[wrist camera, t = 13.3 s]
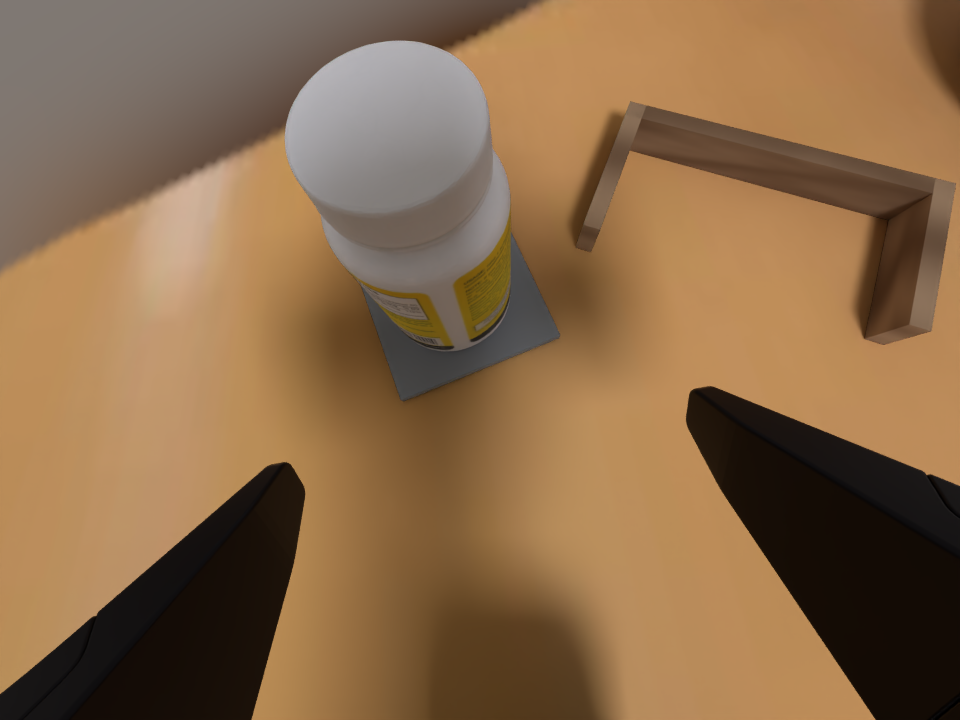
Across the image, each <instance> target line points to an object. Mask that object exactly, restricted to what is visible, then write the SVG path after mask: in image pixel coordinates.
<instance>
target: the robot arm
mask: <svg viewBox="0 0 960 720" xmlns="http://www.w3.org/2000/svg"><path fill="white" fill-rule="evenodd" d="M686 423H687V427H688V429H689V431H690V433H691V435H692V437H693V439H694V441H695V442H696V444H697V446H698V448H699V450H700V452H701V454H702V456H703V458H704V460H705V461H706V463H707V465H708V467H709V469H710V471H711V473H712V475H713V477H714V478H715V480H716V482H717V484H718V486H719V487H720V489H721V491H722V492H723V494H724V495H725V497H726V499H727V500H728V502H729V503H730V505H731V506H732V508H733V509H734V510H735V512H736V513H737V515H738V516H739V518H740V519H741V521H742V522H743V524H744V525H745V527H746V528H747V530H748V531H749V533H750V534H751V536H752V537H753V539H754V540H755V542H756V543H757V545H758V546H759V548H760V549H761V551H762V552H763V553H764V555H765V556H766V558H767V559H768V561H769V562H770V564H771V565H772V567H773V568H774V570H775V571H776V573H777V574H778V576H779V577H780V579H781V580H782V582H783V583H784V585H785V586H786V588H787V589H788V591H789V592H790V593H791V595H792V596H793V598H794V599H795V601H796V602H797V604H798V605H799V607H800V608H801V610H802V611H803V613H804V614H805V616H806V617H807V619H808V620H809V622H810V623H811V625H812V626H813V628H814V629H815V631H816V632H817V634H818V635H819V636H820V638H821V639H822V641H823V642H824V644H825V645H826V647H827V648H828V650H829V651H830V653H831V654H832V656H833V657H834V659H835V660H836V662H837V663H838V665H839V666H840V668H841V669H842V671H843V672H844V674H845V675H846V677H847V678H848V679H849V681H850V682H851V684H852V685H853V687H854V688H855V690H856V691H857V693H858V694H859V696H860V697H861V699H862V700H863V702H864V703H865V705H866V706H867V708H868V709H869V711H870V712H871V714H872V715H873V717H874V718H875V720H960V486H958V485H956V484H954V483H951V482H949V481H946V480H944V479H941V478H939V477H936V476H934V475H931V474H929V475H926V474H925V472H923V471H921V470H919V469H916V468H914V467H911V466H909V465H906V464H904V463H901V462H899V461H896V460H894V459H891V458H889V457H886V456H884V455H881V454H879V453H876V452H874V451H872V450H869V449H867V448H864V447H862V446H859V445H857V444H854V443H852V442H849V441H847V440H844V439H842V438H839V437H837V436H834V435H832V434H829V433H827V432H824V431H822V430H819V429H817V428H815V427H812V426H810V425H807V424H805V423H802V422H800V421H797V420H795V419H792V418H790V417H787V416H785V415H782V414H780V413H777V412H775V411H772V410H770V409H767V408H765V407H762V406H760V405H757V404H755V403H753V402H750V401H748V400H745V399H743V398H740V397H738V396H735V395H733V394H730V393H728V392H725V391H723V390H720V389H718V388H715V387H712V386H707V387H701V388H696V389H693V390H692V391H691V392H690V394H689V400H688V407H687V414H686ZM304 500H305V489H304V486H303V484H302V482H301V480H300V479H299V477H298V475H297V474H296V472H295V470H294V469H293V467H292V466H291V464H289V463H287V462H282V463H277V464H271V465H269V466H267V467H266V468H264V469H263V470H262V471H261V472H260V473H259V474H258V475H256V476H255V477H254V478H253V479H252V480H251V481H249V482H248V483H247V484H246V485H245V486H244V487H242V488H241V489H240V490H239V491H238V492H237V493H235V494H234V495H233V496H232V497H231V498H230V499H229V500H227V501H226V502H225V503H224V504H223V505H222V506H220V507H219V508H218V509H217V510H216V511H215V512H213V513H212V514H211V515H210V516H209V517H208V518H207V519H205V520H204V521H203V522H202V523H201V524H200V525H198V526H197V527H196V528H195V529H194V530H193V531H191V532H190V533H189V534H188V535H187V536H186V537H185V538H183V539H182V540H181V541H180V542H179V543H178V544H176V545H175V546H174V547H173V548H172V549H171V550H169V551H168V552H167V553H166V554H165V555H164V556H162V557H161V558H160V559H159V560H158V561H157V562H156V563H154V564H153V565H152V566H151V567H150V568H149V569H147V570H146V571H145V572H144V573H143V574H142V575H140V576H139V577H138V578H137V579H136V580H135V581H134V582H132V583H131V584H130V585H129V586H128V587H127V588H125V589H124V590H123V591H122V592H121V593H120V594H118V595H117V596H116V597H115V598H114V599H113V600H111V601H110V602H109V603H108V604H107V605H106V606H105V607H103V608H102V609H101V610H100V611H99V612H98V613H97V616H93V617H92V618H90V619H89V620H88V621H87V622H86V623H85V624H84V625H82V626H81V627H80V628H79V629H78V630H77V631H76V632H74V633H73V634H72V635H71V636H70V637H69V638H67V639H66V640H65V641H64V642H63V643H61V644H60V645H59V646H58V647H57V648H56V649H54V650H53V651H52V652H51V653H50V654H48V655H47V656H46V657H45V658H44V659H43V660H41V661H40V662H39V663H38V664H37V665H35V666H34V667H33V668H32V669H31V670H30V671H28V672H27V673H26V674H25V675H23V676H22V677H21V678H20V679H18V680H17V681H16V682H15V683H13V684H12V685H11V686H10V687H9V688H7V689H6V690H5V691H4V692H2V693H1V694H0V720H251V719H252V715H253V712H254V708H255V704H256V701H257V697H258V693H259V690H260V686H261V682H262V679H263V675H264V671H265V668H266V664H267V660H268V657H269V653H270V649H271V646H272V642H273V638H274V635H275V631H276V627H277V624H278V620H279V616H280V613H281V609H282V605H283V602H284V598H285V594H286V591H287V587H288V583H289V580H290V576H291V572H292V568H293V564H294V560H295V554H296V549H297V543H298V537H299V531H300V525H301V519H302V513H303V507H304Z"/></svg>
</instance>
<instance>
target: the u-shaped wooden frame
mask: <svg viewBox="0 0 960 720" xmlns="http://www.w3.org/2000/svg"><path fill="white" fill-rule="evenodd" d="M630 150H631V151H635V152H638V153H642V154H646V155H650V156H653V157H657V158H661V159H664V160H668V161H672V162H675V163H679V164H683V165H686V166H690V167H694V168H697V169H701V170H705V171H709V172H712V173H716V174H720V175H723V176H727V177H731V178H734V179H738V180H742V181H745V182H749V183H753V184H757V185H760V186H764V187H768V188H771V189H775V190H779V191H782V192H786V193H790V194H793V195H797V196H801V197H804V198H808V199H812V200H816V201H819V202H823V203H827V204H830V205H834V206H838V207H841V208H845V209H849V210H852V211H856V212H860V213H863V214H867V215H871V216H875V217H878V218H882V219H886V220H889V221H888V226H887V231H886V236H885V241H884V246H883V251H882V256H881V261H880V266H879V271H878V275H877V280H876V285H875V290H874V295H873V300H872V305H871V310H870V315H869V320H868V325H867V330H866V335H865V339H867V340H870V341H873V342H876V343H879V344H883V345H885V344H889V343H892V342H896V341H899V340H903V339H906V338H910V337H913V336H917V335H920V334H924V333H927V332H931V330H932V324H933V318H934V312H935V306H936V300H937V294H938V288H939V282H940V276H941V270H942V264H943V258H944V252H945V246H946V240H947V234H948V228H949V222H950V216H951V210H952V204H953V198H954V192H955V186H956V183H952V182H948V181H944V180H941V179H937V178H933V177H929V176H925V175H921V174H917V173H913V172H909V171H905V170H901V169H897V168H893V167H889V166H885V165H881V164H877V163H873V162H869V161H865V160H861V159H857V158H853V157H849V156H845V155H841V154H837V153H833V152H829V151H825V150H821V149H817V148H813V147H809V146H805V145H801V144H797V143H793V142H789V141H786V140H782V139H778V138H774V137H770V136H766V135H762V134H758V133H754V132H750V131H746V130H742V129H738V128H734V127H730V126H726V125H722V124H718V123H714V122H710V121H706V120H702V119H698V118H694V117H690V116H686V115H682V114H678V113H674V112H670V111H666V110H662V109H658V108H654V107H650V106H646V105H642V104H638V103H634V102H631V101H630V103H629V106H628V109H627V111H626V114H625V117H624V119H623V122H622V124H621V127H620V130H619V132H618V135H617V137H616V140H615V143H614V145H613V148H612V150H611V153H610V156H609V158H608V161H607V163H606V166H605V169H604V171H603V174H602V176H601V179H600V182H599V184H598V187H597V190H596V192H595V195H594V197H593V200H592V203H591V205H590V208H589V210H588V213H587V216H586V218H585V221H584V223H583V226H582V229H581V232H580V235H579V238H578V241H577V244H576V248H579V249H583V250H586V251H589V252H591V251H592V248H593V246H594V243H595V241H596V239H597V236H598V234H599V231H600V229H601V226H602V223H603V221H604V218H605V215H606V213H607V210H608V207H609V205H610V202H611V199H612V197H613V194H614V191H615V189H616V186H617V183H618V180H619V178H620V175H621V172H622V170H623V167H624V164H625V162H626V159H627V156H628V154H629V151H630Z"/></svg>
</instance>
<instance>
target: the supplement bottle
mask: <svg viewBox="0 0 960 720" xmlns="http://www.w3.org/2000/svg"><path fill="white" fill-rule="evenodd" d="M285 148H286V154H287V158H288V162H289V165H290V167H291V170H292V172H293V174H294V175H295V177H296V179H297V181H298V182H299V184H300V185H301V187H302V188H303V189H304V191H305V192H306V194H307V195H308V196H309V198H310V199H311V201H312V202H313V203H314V205H315V206H316V208H317V210H318V211H319V213H320V214H321V220H322V225H323V229H324V232H325V235H326V238H327V241H328V243H329V245H330V247H331V249H332V250H333V252H334V254H335V255H336V257H337V258H338V260H339V261H340V262H341V264H342V265H343V266H344V267H345V268H346V269H347V270H348V272H349V273H350V274H351V275H352V276H353V277H354V278H355V279H356V280H357V281H358V283H359V284H360V285H361V286H362V287H363V288H364V289H365V290H366V292H367V293H368V294H369V295H370V296H371V297H372V298H373V299H374V301H375V302H376V303H377V304H378V305H379V306H380V307H381V308H382V310H383V311H384V312H385V313H386V314H387V315H388V316H389V317H390V318H391V320H392V321H393V322H394V323H395V324H396V325H397V326H398V327H399V328H400V329H401V331H402V332H403V333H404V334H405V335H406V336H407V337H409V338H410V339H411V340H413V341H414V342H415V343H417V344H419V345H421V346H423V347H426V348H428V349H432V350H437V351H458V350H462V349H466V348H469V347H471V346H473V345H476V344H478V343H480V342H481V341H483V340H484V339H486V338H487V337H488V336H490V335H491V334H492V333H493V332H494V331H495V330H496V329H497V327H498V326H499V325H500V323H501V322H502V320H503V318H504V317H505V314H506V312H507V309H508V305H509V301H510V290H511V197H510V189H509V184H508V180H507V176H506V173H505V170H504V167H503V165H502V163H501V161H500V159H499V157H498V156H497V154H496V153H495V151H494V150H493V148H492V139H491V128H490V118H489V109H488V104H487V100H486V97H485V94H484V92H483V89H482V87H481V85H480V83H479V82H478V80H477V79H476V77H475V75H474V74H473V73H472V72H471V70H470V69H469V68H468V67H467V66H466V65H465V64H464V63H463V62H462V61H460V60H459V59H458V58H456V57H455V56H453V55H452V54H450V53H448V52H446V51H444V50H441V49H439V48H436V47H434V46H431V45H427V44H424V43H420V42H413V41H387V42H380V43H375V44H370V45H366V46H362V47H360V48H357V49H354V50H352V51H350V52H347V53H345V54H344V55H342V56H339V57H337V58H336V59H334V60H333V61H331V62H330V63H328V64H327V65H325V66H324V67H323V68H322V69H320V70H319V71H318V72H317V73H316V74H315V75H314V76H313V77H312V78H311V79H310V80H309V81H308V82H307V83H306V85H305V86H304V87H303V88H302V90H301V91H300V92H299V95H298V96H297V98H296V99H295V101H294V103H293V105H292V107H291V110H290V113H289V116H288V120H287V123H286V131H285Z"/></svg>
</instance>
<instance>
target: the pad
mask: <svg viewBox="0 0 960 720" xmlns="http://www.w3.org/2000/svg"><path fill="white" fill-rule="evenodd" d="M361 287H362V286H361ZM362 290H363V293H364V296H365V298H366V301H367V304H368V307H369V310H370V313H371V316H372V319H373V321H374V324H375V327H376V330H377V333H378V336H379V339H380V342H381V344H382V347H383V350H384V353H385V356H386V359H387V362H388V365H389V367H390V370H391V373H392V376H393V379H394V382H395V385H396V388H397V390H398V393H399V396H400V399H401V400H402V401H406V400H408V399H411V398H413V397H415V396H418V395H420V394H423V393H425V392H428V391H430V390H433V389H435V388H438V387H440V386H442V385H445V384H447V383H450V382H452V381H455V380H457V379H460V378H462V377H465V376H467V375H469V374H472V373H474V372H477V371H479V370H482V369H484V368H487V367H489V366H492V365H494V364H496V363H499V362H501V361H504V360H506V359H509V358H511V357H514V356H516V355H519V354H521V353H524V352H526V351H528V350H531V349H533V348H536V347H538V346H541V345H543V344H546V343H548V342H551V341H553V340H555V339H558V338H559V337H560V333H559V331H558V329H557V327H556V325H555V323H554V321H553V319H552V317H551V314H550V312H549V310H548V308H547V306H546V304H545V302H544V300H543V298H542V296H541V294H540V291H539V289H538V287H537V285H536V283H535V281H534V279H533V277H532V275H531V273H530V271H529V268H528V266H527V264H526V262H525V260H524V258H523V256H522V254H521V252H520V250H519V248H518V245H517V243H516V241H515V239H514V237H513V235H512V233H511V290H510V301H509V305H508V309H507V312H506V314H505V317H504V318H503V320H502V322H501V323H500V325H499V326H498V327H497V329H496V330H495V331H494V332H493V333H492V334H491V335H490V336H488V337H487V338H486V339H484V340H483V341H481V342H480V343H478V344H476V345H473V346H471V347H469V348H466V349H462V350H458V351H437V350H432V349H428V348H426V347H423V346H421V345H419V344H417V343H415V342H414V341H413V340H411V339H410V338H409V337H407V336H406V335H405V334H404V333H403V332H402V331H401V329H400V328H399V327H398V326H397V325H396V324H395V323H394V322H393V321H392V320H391V318H390V317H389V316H388V315H387V314H386V313H385V312H384V311H383V310H382V308H381V307H380V306H379V305H378V304H377V303H376V302H375V301H374V299H373V298H372V297H371V296H370V295H369V294H368V293H367V292H366V290H365V289H364V288H363V287H362Z"/></svg>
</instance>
